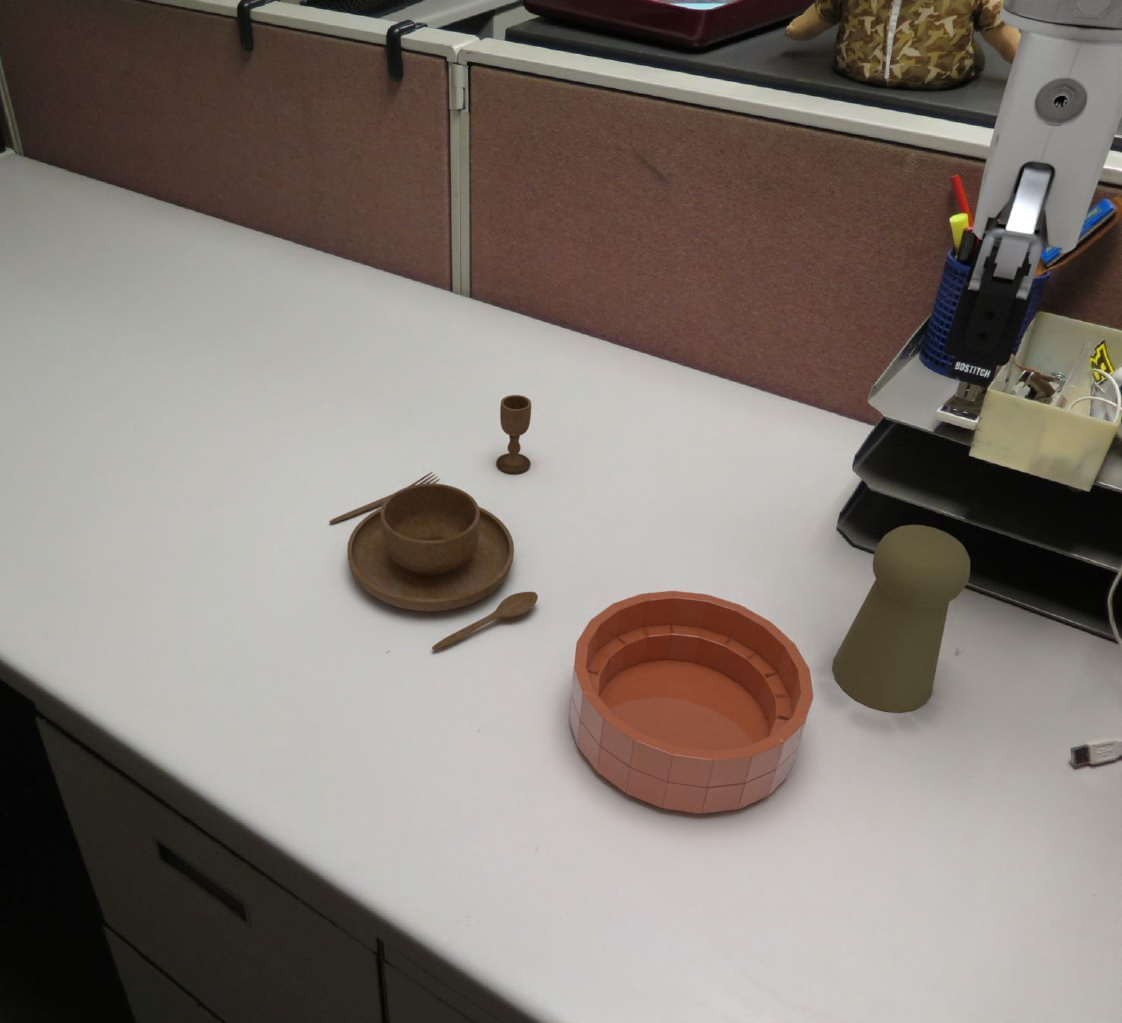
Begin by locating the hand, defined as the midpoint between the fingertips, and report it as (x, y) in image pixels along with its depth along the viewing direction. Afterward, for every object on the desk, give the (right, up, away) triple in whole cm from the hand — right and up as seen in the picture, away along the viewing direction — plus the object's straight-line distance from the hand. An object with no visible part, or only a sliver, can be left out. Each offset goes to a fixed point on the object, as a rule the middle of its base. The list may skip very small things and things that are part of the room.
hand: (984, 321), depth 60 cm
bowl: (-16, -24, +4) cm, 29 cm away
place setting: (-28, -13, +18) cm, 36 cm away
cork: (-3, -21, +7) cm, 23 cm away
